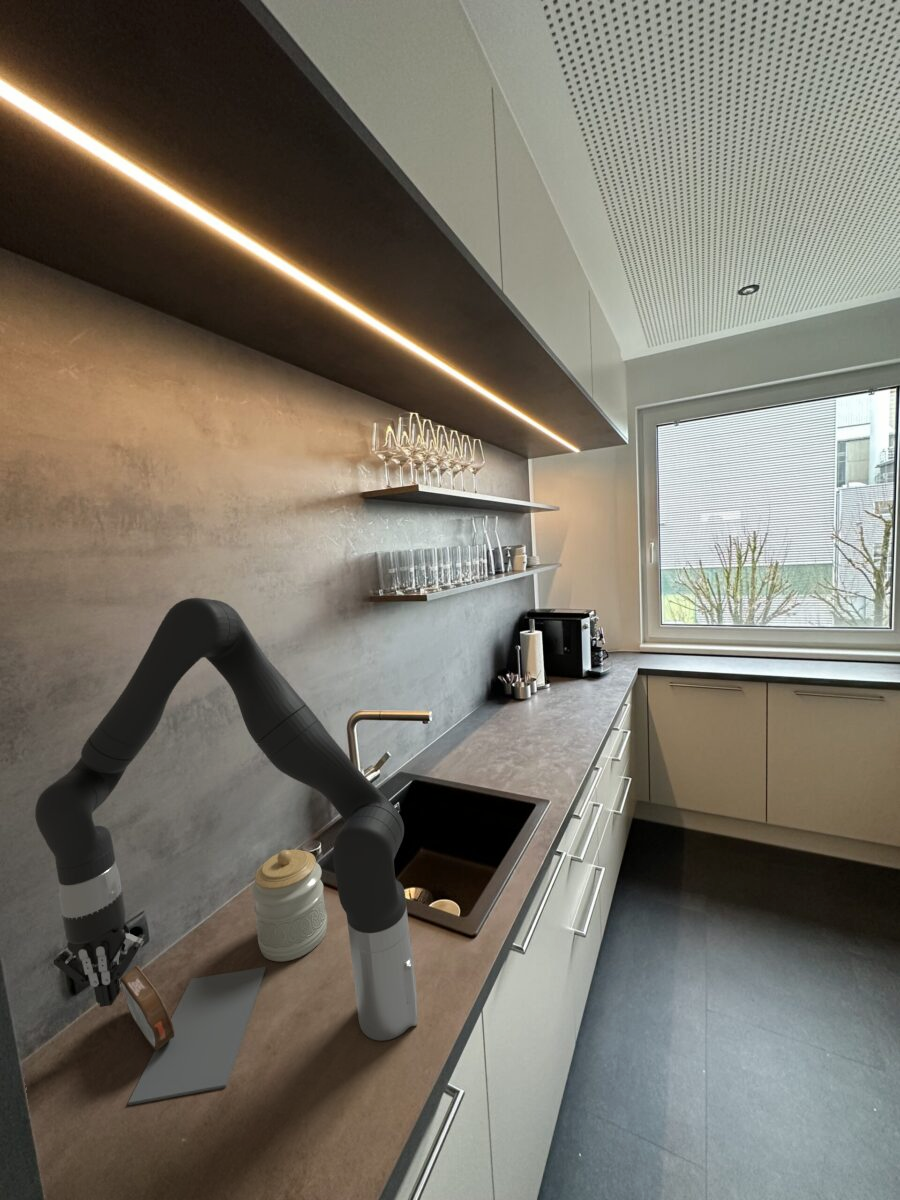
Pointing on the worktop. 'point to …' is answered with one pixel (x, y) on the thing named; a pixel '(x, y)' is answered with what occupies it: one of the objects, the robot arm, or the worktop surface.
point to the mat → (202, 1037)
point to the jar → (289, 905)
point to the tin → (147, 1008)
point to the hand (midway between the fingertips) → (109, 1001)
